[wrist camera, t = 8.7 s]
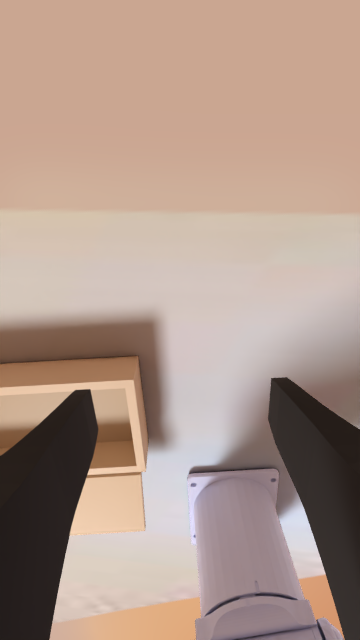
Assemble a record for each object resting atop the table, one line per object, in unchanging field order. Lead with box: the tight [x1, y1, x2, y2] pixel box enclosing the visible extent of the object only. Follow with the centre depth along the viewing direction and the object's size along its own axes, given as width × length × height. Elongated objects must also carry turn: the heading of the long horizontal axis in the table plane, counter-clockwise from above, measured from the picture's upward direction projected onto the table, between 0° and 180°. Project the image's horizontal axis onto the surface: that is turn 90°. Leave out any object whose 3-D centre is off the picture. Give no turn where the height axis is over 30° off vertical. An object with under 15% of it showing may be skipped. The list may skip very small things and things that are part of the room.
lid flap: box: [69, 472, 146, 536], centre depth 23 cm, size 4×15×1 cm, turn 92°
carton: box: [0, 356, 148, 475], centre depth 22 cm, size 8×16×3 cm, turn 93°
